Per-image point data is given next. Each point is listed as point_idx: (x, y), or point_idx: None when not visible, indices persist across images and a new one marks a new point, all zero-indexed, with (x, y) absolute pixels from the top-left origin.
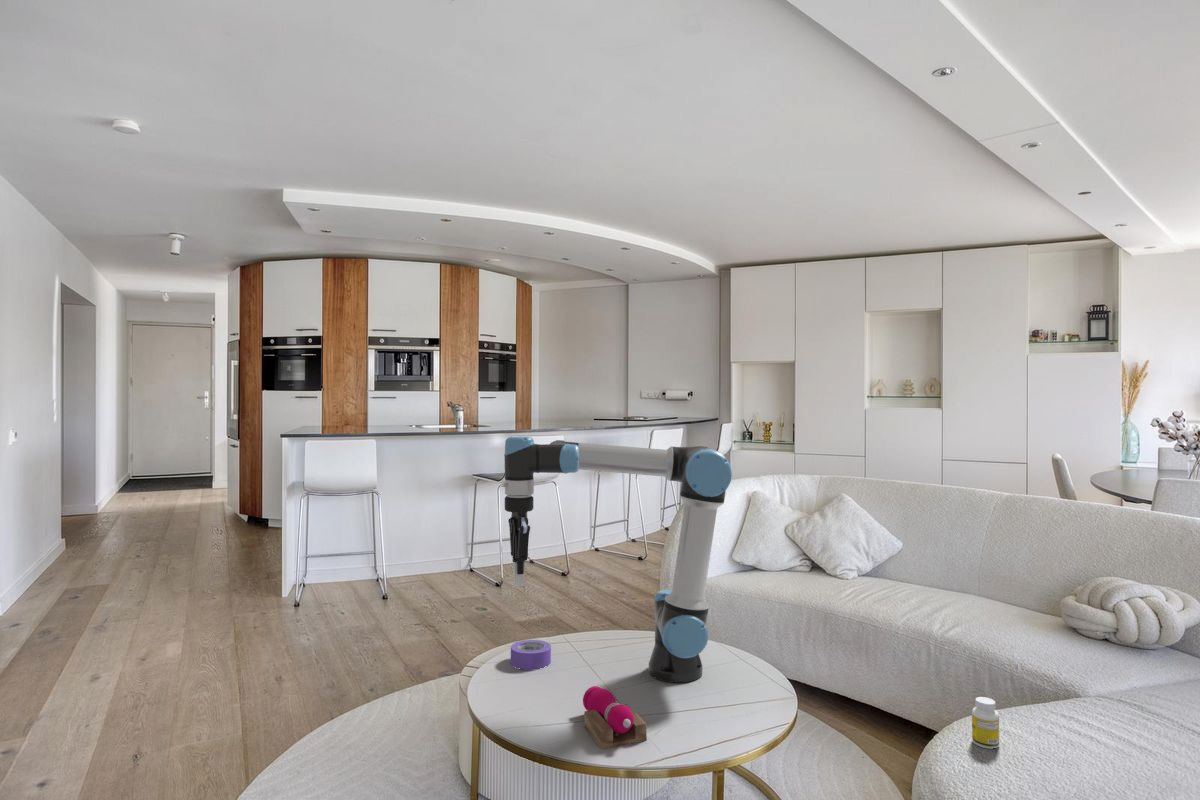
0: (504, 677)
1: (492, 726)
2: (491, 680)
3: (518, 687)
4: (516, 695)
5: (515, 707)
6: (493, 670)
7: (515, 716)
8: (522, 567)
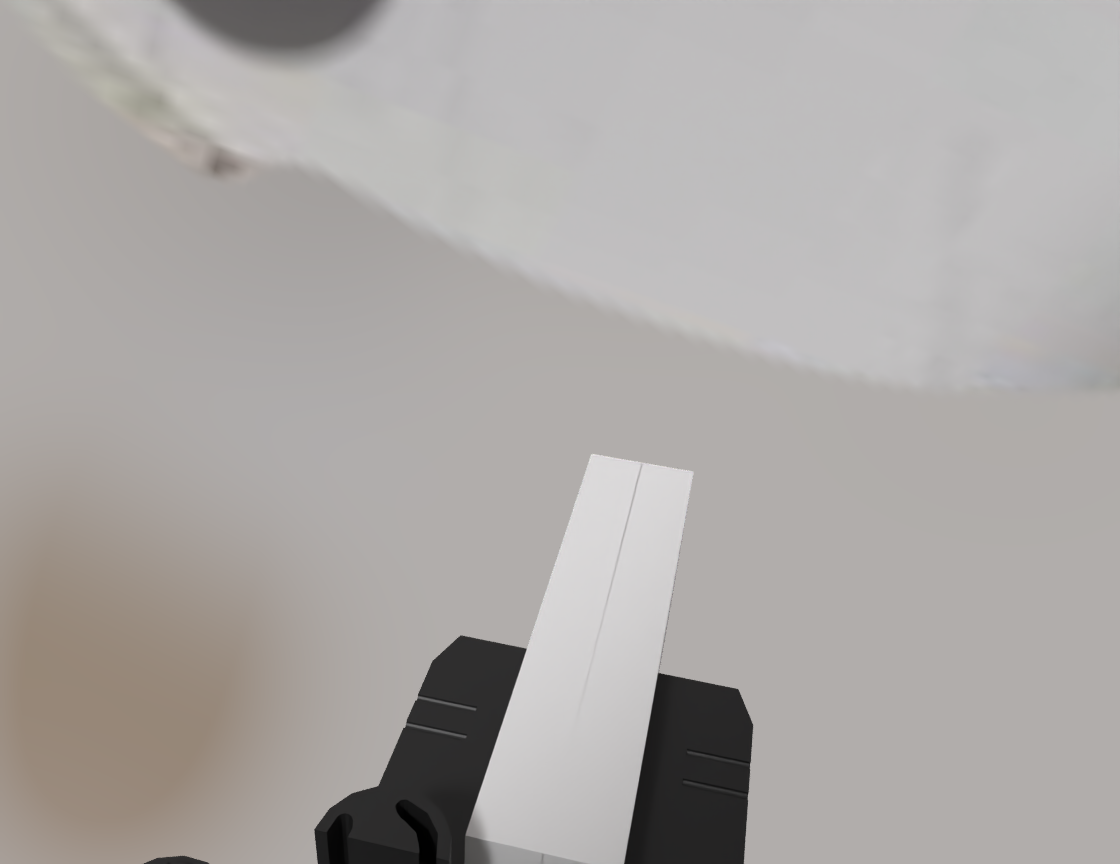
0: (439, 61)
1: (1081, 383)
2: (456, 158)
3: (643, 36)
4: (761, 100)
5: (931, 176)
6: (299, 86)
7: (1053, 226)
8: (743, 834)
